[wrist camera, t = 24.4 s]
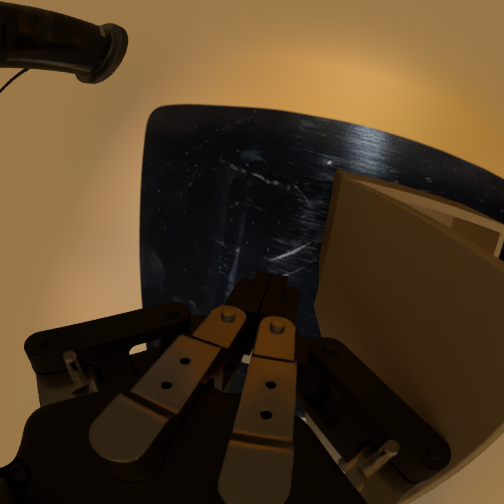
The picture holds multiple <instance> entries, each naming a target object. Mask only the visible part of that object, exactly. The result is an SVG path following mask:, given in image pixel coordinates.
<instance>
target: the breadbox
mask: <svg viewBox="0 0 504 504" xmlns="http://www.w3.org/2000/svg"><path fill="white" fill-rule="evenodd" d="M342 178H348V179H353V180H355V181H357V182H360V183H362V184H364V185H366V186H369V187H371V188H373V189H375V190H377V191H380V192H382V193H384V194H386V195H388V196H390V197H392V198H394V199H397V200H399V201H401V202H403V203H405V204H407V205H409V206H411V207H413V208H414V209H416V210H418V211H420V212H422V213H424V214H426V215H428V216H430V217H431V218H433V219H435V220H437V221H439V222H441V223H442V224H444V225H446V226H448V227H449V228H451V229H453V230H454V231H456V232H458V233H459V234H461V235H463V236H464V237H466V238H468V239H469V240H471V241H473V242H474V243H476V244H477V245H479V246H480V247H482V248H483V249H485V250H486V251H488V252H489V253H491V254H492V255H494V256H495V257H497V258H498V257H499V254H500V251H501V247H502V244H503V241H504V225H503V224H501V223H500V222H498V221H496V220H494V219H492V218H490V217H488V216H486V215H484V214H482V213H480V212H478V211H475V210H473V209H471V208H469V207H467V206H465V205H462V204H460V203H458V202H455V201H452V200H449V199H446V198H443V197H440V196H437V195H434V194H430V193H427V192H424V191H421V190H417V189H414V188H410V187H407V186H403V185H399V184H396V183H392V182H388V181H384V180H380V179H376V178H372V177H368V176H363V175H359V174H354V173H350V172H345V171H340V170H335V176H334V182H333V188H332V194H331V199H330V205H329V210H328V215H327V221H326V226H325V231H324V236H323V241H322V245H321V250H320V255H319V284H320V280H321V276H322V272H323V268H324V264H325V259H326V255H327V251H328V246H329V241H330V237H331V232H332V227H333V222H334V217H335V212H336V207H337V202H338V196H339V191H340V185H341V179H342Z"/></svg>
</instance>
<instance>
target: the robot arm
mask: <svg viewBox="0 0 504 504" xmlns="http://www.w3.org/2000/svg"><path fill="white" fill-rule="evenodd" d="M115 42H116V39H115V34H114V32H113V31H112V30H110V29H107V28H104V27H103V26H100V25H99V26H97V25H95V24H92V23H89V22H86V21H83V20H80V19H77V18H74V17H71V16H67V15H64V14H60V13H57V12H53V11H48V10H44V9H40V8H36V7H31V6H25V5H19V4H13V3H6V2H1V1H0V68H25V69H23V70H22V71H20V72H19V73H18V74H16V75H15V76H14V77H13V78H11V79H10V80H9V81H8V82H7V83H6V84H5V85H4V86H3V87H2V88H1V89H0V93H1V92H2V91H3V90H4V89H5V88H6V87H7V86H8V85H9V84H10V83H11V82H12V81H13V80H15V79H16V78H17V77H18V76H20V75H21V74H23V73H24V72H26V71H28V70H29V69H41V70H51V71H59V72H67V73H73V74H80V75H82V76H91V75H94V74H96V73H97V72H99V71H100V70H101V69H102V68H103V67H104V66H105V65H106V63H107V62H108V60H109V59H110V57H111V55H112V53H113V50H114V47H115ZM287 280H288V276H283V275H278V274H273V276H272V273H268V272H263V271H257V273H256V275H255V277H254V279H248V278H244V279H242V280H240V281H238V283H237V284H236V286H235V288H234V289H233V291H232V293H231V294H230V296H229V297H228V299H227V301H226V302H225V304H224V305H222V306H218V307H216V308H214V309H213V310H212V311H211V312H210V313H209V315H207V316H199V315H191V312H190V309H189V307H188V306H186V305H185V304H183V303H179V302H167V303H163V304H159V305H155V306H151V307H147V308H142V309H138V310H134V311H130V312H126V313H122V314H117V315H113V316H109V317H105V318H100V319H96V320H92V321H87V322H83V323H78V324H73V325H69V326H64V327H60V328H55V329H51V330H46V331H40V332H36V333H34V334H32V335H31V336H29V337H28V338H27V340H26V341H25V344H24V350H25V352H26V354H27V356H28V358H29V360H30V362H31V364H32V368H33V370H34V372H35V374H36V378H37V387H38V394H39V401H40V408H39V409H37V410H36V411H35V412H33V413H32V414H31V416H30V417H29V418H28V420H27V422H26V424H25V427H24V431H23V436H22V441H21V444H20V447H19V450H18V452H17V455H16V457H15V458H14V460H13V461H12V462H11V463H10V464H8V465H6V466H4V467H1V468H0V504H397V503H399V502H400V501H401V500H402V499H403V498H404V497H405V496H406V495H408V494H409V493H410V492H411V491H412V490H414V489H415V488H417V487H419V486H420V485H422V484H423V483H425V482H426V481H427V480H429V479H430V478H432V477H433V476H435V475H436V474H437V473H439V472H440V471H441V470H443V469H444V468H445V467H446V466H447V465H448V464H449V462H450V459H451V450H450V447H449V445H448V443H447V442H446V440H445V439H443V438H442V437H441V436H440V435H439V434H438V433H437V432H436V431H435V430H434V429H433V428H432V427H431V426H430V425H429V424H428V423H427V422H425V421H424V420H423V419H422V418H421V417H420V416H419V415H418V414H417V413H416V412H415V411H414V410H413V409H412V408H411V407H410V406H409V405H408V404H406V403H405V402H404V401H403V400H402V399H401V398H400V397H399V396H398V395H397V394H396V393H395V392H394V391H393V390H392V389H391V388H390V387H389V386H387V385H386V384H385V383H384V382H383V381H382V380H381V379H380V378H379V377H378V376H377V375H376V374H375V373H374V372H373V371H372V370H371V369H370V368H369V367H368V366H366V365H365V364H364V363H363V362H362V361H361V360H360V359H359V358H358V357H357V356H356V355H355V354H354V353H353V352H352V351H351V350H350V349H349V348H348V347H347V346H345V345H344V344H343V343H342V342H341V341H339V340H337V339H334V338H330V337H322V338H318V339H316V340H315V341H314V342H311V341H309V340H307V339H305V338H303V337H302V336H300V335H299V334H298V332H297V331H296V329H295V323H296V317H297V311H298V304H299V298H300V294H299V292H298V290H297V288H292V287H287V286H286V285H287ZM157 339H159V347H156V348H152V349H149V350H146V351H142V352H139V353H135V354H131V355H129V351H130V350H131V348H132V347H134V346H136V345H139V344H142V343H146V342H150V341H153V340H157ZM252 349H253V350H252ZM251 352H252V355H251V359H250V363H249V367H248V371H247V375H246V379H245V383H244V387H243V391H242V394H237V393H226V392H227V390H228V388H229V386H230V384H231V383H232V381H233V379H234V377H235V375H236V373H237V371H238V369H239V367H240V362H241V360H242V358H243V356H244V355H248V356H250V354H251ZM332 388H333V389H332ZM338 395H339V396H340V397H341V398H340V397H339V396H338ZM296 399H297V401H298V402H299V403H300V405H301V406H302V407H303V409H304V410H305V411H306V413H307V414H308V415H309V417H310V418H311V419H312V421H313V422H314V423H315V424H316V426H317V427H318V428H319V430H320V431H321V432H322V433H323V435H324V436H325V437H326V438H327V440H328V441H329V442H330V444H331V445H332V446H333V447H334V448H335V450H336V451H337V452H338V453H339V455H340V456H341V457H342V458H343V460H344V461H345V462H346V463H347V465H346V467H345V474H344V472H343V471H342V470H341V468H340V467H339V466H338V464H337V463H336V462H335V460H334V459H333V458H332V456H331V455H330V454H329V452H328V451H327V449H326V448H325V447H324V445H323V444H322V443H321V441H320V440H319V438H318V437H317V436H316V434H315V433H314V431H313V430H312V429H311V427H310V426H309V425H308V424H307V423H306V422H305V421H304V420H302V419H301V418H300V417H298V416H297V415H296V414H295V400H296Z"/></svg>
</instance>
